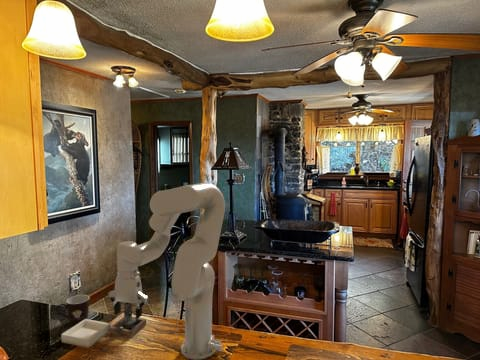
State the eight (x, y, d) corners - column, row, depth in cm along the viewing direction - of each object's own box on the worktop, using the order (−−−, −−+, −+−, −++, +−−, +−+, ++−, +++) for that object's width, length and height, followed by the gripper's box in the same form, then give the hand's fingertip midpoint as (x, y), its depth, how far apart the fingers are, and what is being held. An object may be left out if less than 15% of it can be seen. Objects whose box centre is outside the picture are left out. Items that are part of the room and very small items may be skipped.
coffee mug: (94, 318, 138) (93, 295, 137) (82, 328, 129) (81, 304, 128) (68, 316, 139) (67, 293, 138) (55, 327, 130) (54, 302, 130)
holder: (146, 325, 133) (146, 319, 133) (131, 338, 123) (131, 331, 123) (125, 321, 135) (125, 315, 135) (109, 333, 126) (109, 327, 126)
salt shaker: (131, 334, 126) (130, 304, 125) (117, 332, 127) (117, 302, 126) (138, 326, 132) (138, 297, 131) (125, 324, 133) (125, 296, 132)
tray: (110, 330, 128) (110, 323, 128) (88, 347, 117) (88, 339, 116) (85, 325, 131) (85, 318, 131) (61, 342, 120) (61, 334, 120)
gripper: (152, 272, 129) (152, 314, 130) (115, 267, 134) (115, 307, 135) (141, 279, 122) (141, 323, 123) (102, 274, 126) (103, 316, 128)
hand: (128, 315), depth 129 cm, fingers open, 9 cm apart
